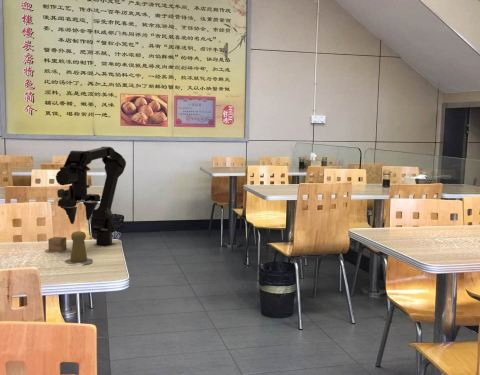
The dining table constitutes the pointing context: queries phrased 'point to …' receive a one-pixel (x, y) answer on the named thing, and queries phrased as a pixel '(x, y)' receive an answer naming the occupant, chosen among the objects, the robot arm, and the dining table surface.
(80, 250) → the brown rounded piece
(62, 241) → the walnut cube
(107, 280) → the dining table surface
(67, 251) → the coaster
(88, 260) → the coaster empty
